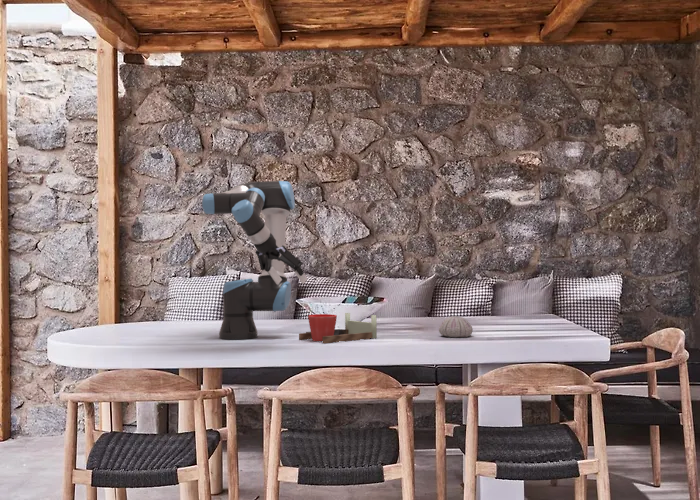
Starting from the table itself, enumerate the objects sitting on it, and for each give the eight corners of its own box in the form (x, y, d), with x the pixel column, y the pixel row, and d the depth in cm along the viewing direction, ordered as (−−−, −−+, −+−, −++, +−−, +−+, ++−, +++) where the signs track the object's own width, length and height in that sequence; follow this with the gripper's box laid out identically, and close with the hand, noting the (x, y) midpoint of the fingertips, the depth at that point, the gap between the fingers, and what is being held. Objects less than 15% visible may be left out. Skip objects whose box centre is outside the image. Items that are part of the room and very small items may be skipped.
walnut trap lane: (324, 343, 292) (324, 336, 293) (294, 339, 308) (294, 332, 308) (375, 338, 308) (375, 331, 308) (344, 334, 323) (344, 328, 323)
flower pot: (333, 342, 296) (333, 316, 296) (305, 342, 298) (305, 316, 298) (339, 339, 307) (339, 314, 307) (312, 338, 309) (312, 314, 309)
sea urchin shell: (463, 334, 321) (462, 314, 321) (478, 337, 308) (478, 317, 308) (433, 335, 317) (433, 315, 317) (447, 339, 304) (447, 318, 304)
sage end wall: (373, 338, 306) (373, 315, 306) (344, 335, 321) (344, 313, 321) (377, 338, 307) (377, 315, 307) (348, 334, 322) (347, 312, 322)
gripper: (233, 247, 290) (264, 289, 299) (280, 243, 273) (310, 288, 283) (245, 233, 294) (274, 275, 304) (291, 229, 277) (321, 273, 287)
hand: (292, 281), depth 293 cm, fingers open, 13 cm apart
